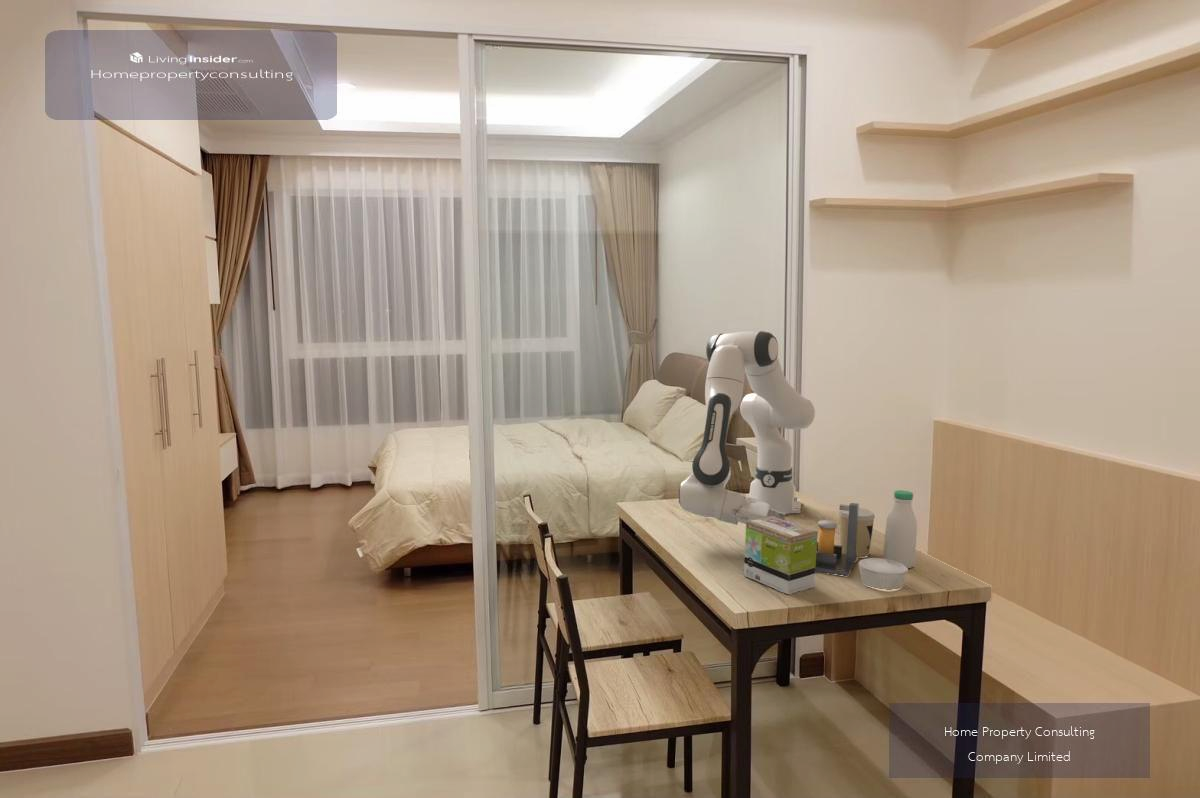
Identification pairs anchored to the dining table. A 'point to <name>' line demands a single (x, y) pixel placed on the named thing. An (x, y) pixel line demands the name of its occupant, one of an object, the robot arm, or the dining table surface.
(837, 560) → the keeper stand
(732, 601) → the dining table surface
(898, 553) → the milk bottle
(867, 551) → the coffee cup
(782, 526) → the tea box
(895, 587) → the ramekin
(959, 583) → the dining table surface
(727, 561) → the dining table surface
